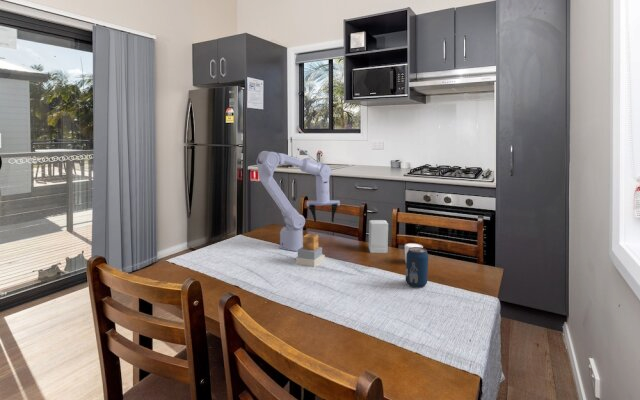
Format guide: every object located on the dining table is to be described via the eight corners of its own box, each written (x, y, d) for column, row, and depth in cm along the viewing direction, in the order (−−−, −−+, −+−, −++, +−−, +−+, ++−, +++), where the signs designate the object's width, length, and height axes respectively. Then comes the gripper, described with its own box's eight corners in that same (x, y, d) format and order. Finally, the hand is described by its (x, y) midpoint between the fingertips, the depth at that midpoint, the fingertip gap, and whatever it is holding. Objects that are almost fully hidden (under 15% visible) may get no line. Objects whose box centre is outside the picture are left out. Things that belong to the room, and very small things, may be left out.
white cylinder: (422, 266, 147) (423, 248, 146) (403, 265, 148) (404, 247, 147) (421, 260, 154) (422, 243, 153) (403, 259, 155) (404, 242, 154)
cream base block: (296, 264, 150) (296, 257, 150) (307, 258, 157) (307, 251, 156) (314, 268, 146) (314, 260, 146) (324, 262, 153) (324, 254, 153)
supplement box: (387, 253, 163) (388, 223, 161) (369, 253, 164) (370, 223, 161) (385, 248, 171) (386, 219, 169) (368, 248, 171) (368, 219, 169)
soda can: (423, 280, 133) (425, 246, 131) (429, 288, 126) (431, 252, 124) (403, 280, 133) (404, 246, 131) (408, 288, 126) (409, 252, 124)
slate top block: (297, 257, 149) (297, 249, 149) (305, 252, 155) (305, 245, 155) (314, 259, 146) (314, 252, 146) (322, 254, 153) (322, 247, 152)
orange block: (302, 249, 149) (302, 236, 148) (307, 246, 153) (307, 233, 152) (313, 250, 148) (313, 237, 147) (318, 247, 152) (318, 234, 151)
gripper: (305, 193, 169) (306, 223, 171) (339, 192, 168) (340, 223, 170) (307, 190, 176) (308, 220, 178) (339, 189, 175) (340, 219, 177)
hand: (323, 221), depth 175 cm, fingers open, 7 cm apart
